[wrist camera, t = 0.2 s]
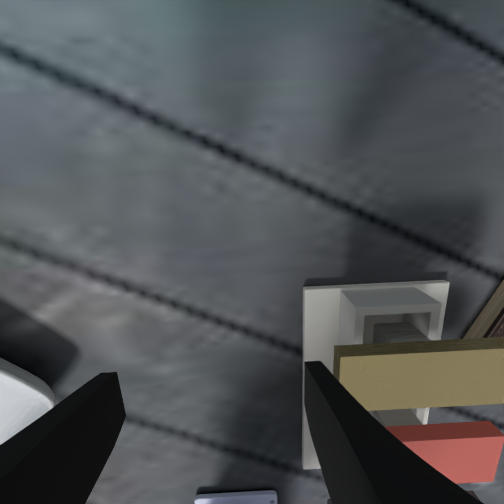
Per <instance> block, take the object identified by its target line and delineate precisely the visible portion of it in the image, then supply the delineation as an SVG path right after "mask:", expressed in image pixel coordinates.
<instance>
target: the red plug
mask: <svg viewBox="0 0 504 504" xmlns="http://www.w3.org/2000/svg"><path fill="white" fill-rule="evenodd" d="M368 412H369V413H370V414H371V415H372V416H373V417H374V418H375V419H376V420H378V421H379V422H380V423H381V424H382V425H383V426H384V427H385V428H386V429H387V430H388V431H389V432H391V433H392V434H393V435H394V436H395V437H396V438H397V439H399V440H400V441H401V442H402V443H403V444H405V445H406V446H407V447H408V448H409V449H411V450H412V451H413V452H414V453H416V454H417V455H418V456H419V457H420V458H422V459H423V460H424V461H426V462H427V463H428V464H429V465H431V466H432V467H433V468H435V469H436V470H437V471H439V472H440V473H442V474H443V475H444V476H446V477H447V478H448V479H450V480H451V481H452V482H454V483H455V484H457V483H474V482H492V481H494V477H495V473H496V470H497V466H498V462H499V458H500V454H501V451H502V447H503V443H504V434H502V433H501V432H500V431H499V430H498V429H497V428H496V427H495V426H494V425H493V424H492V423H491V422H490V421H479V422H461V423H442V424H424V425H423V424H422V423H421V422H420V420H419V419H418V418H417V416H416V415H415V414H414V412H413V411H412V410H411V409H393V410H374V411H368Z"/></svg>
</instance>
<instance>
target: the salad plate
mask: <svg viewBox="0 0 504 504" xmlns="http://www.w3.org/2000/svg"><path fill="white" fill-rule="evenodd" d="M54 406H55V397H54V394H53V392H52V390H51V388H50V387H49V386H48V385H47V384H46V383H45V382H44V381H43V380H41V379H40V378H38V377H37V376H35V375H33V374H31V373H30V372H28V371H26V370H24V369H22V368H20V367H18V366H16V365H14V364H12V363H10V362H8V361H6V360H4V359H2V358H0V445H1V444H2V443H4V442H5V441H7V440H8V439H10V438H11V437H12V436H14V435H15V434H17V433H18V432H20V431H21V430H22V429H24V428H25V427H27V426H28V425H30V424H31V423H32V422H34V421H35V420H37V419H38V418H39V417H41V416H42V415H44V414H45V413H46V412H48V411H49V410H50V409H52V408H53V407H54Z"/></svg>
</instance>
